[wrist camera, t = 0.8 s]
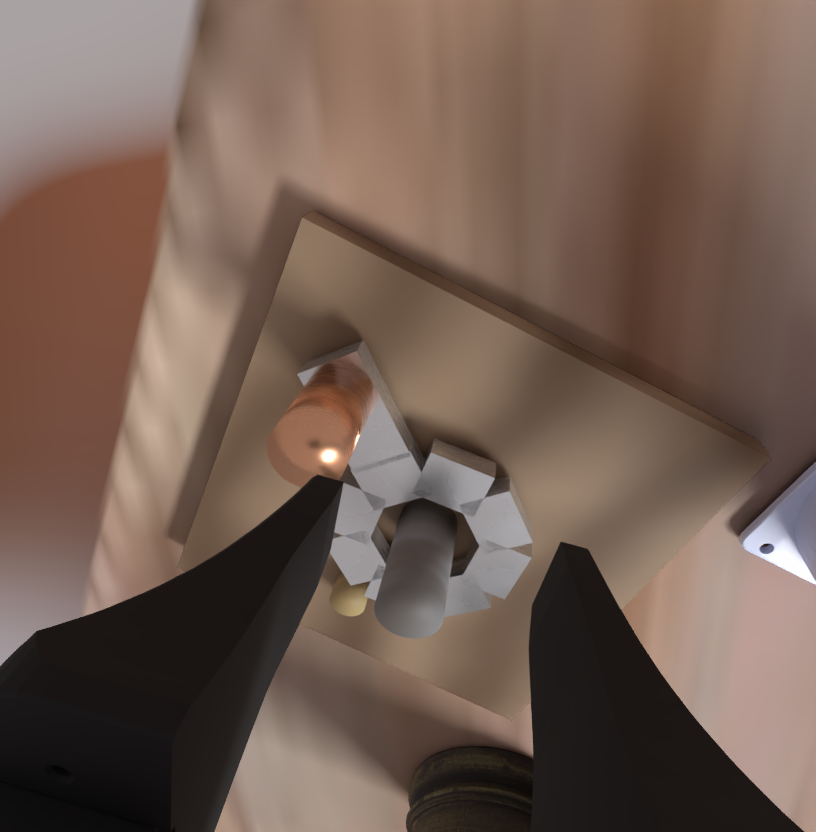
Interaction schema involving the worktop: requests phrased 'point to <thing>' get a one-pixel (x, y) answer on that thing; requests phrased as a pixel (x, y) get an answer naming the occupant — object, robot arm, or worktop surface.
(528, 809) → the container
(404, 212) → the worktop surface
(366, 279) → the jig base
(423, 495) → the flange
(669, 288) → the worktop surface
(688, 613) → the worktop surface
